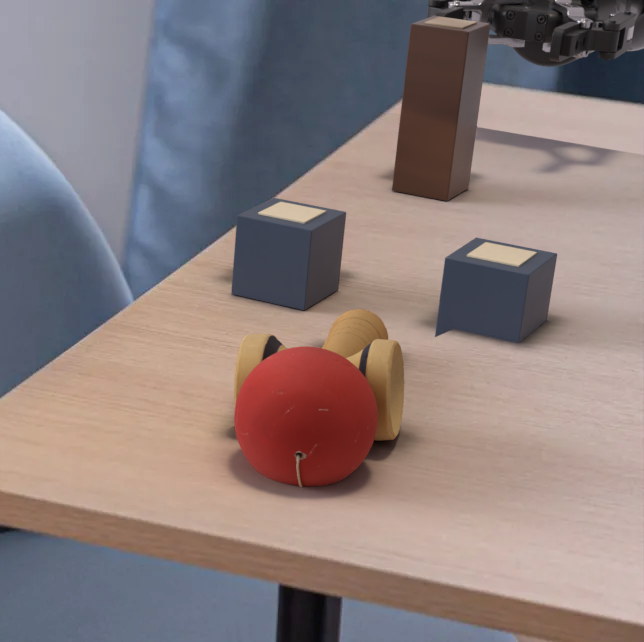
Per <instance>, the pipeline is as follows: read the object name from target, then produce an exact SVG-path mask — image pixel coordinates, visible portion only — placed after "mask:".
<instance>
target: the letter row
mask: <svg viewBox="0 0 644 642" xmlns="http://www.w3.org/2000/svg"><path fill="white" fill-rule="evenodd" d="M346 221H347V211H345V210H338V209H333V208H329V207H323V206H320V205H319V206H317V205H313V204H308V203H303V202H298V201H293V200H288V199H284V198H283V199H282V198H277V197H272V198H270V199H268V200H265V201H264V202H262V203H260V204H257V205H256V206H254V207H251V208H249V209H247V210H245V211H243V212H241V213H239V214H237V215H236V226H235V240H234V252H233V264H232V265H233V266H232V279H231V293H230V294H231V295H234V296H239V297H243V298H247V299H248V298H249V299H252V300H256V301H261V302H265V303H269V304H273V305H279V306H283V307H287V308H292V309H296V310H299V311H306V310H307V309H309V308H311V307H312V306H314V305H315V304H318V303H319V302H321V301H322V300H323V299H325V298H327V297H329V296H330V295H332V294H334V293H335V292H337V291H338V290H339V287H340V278H341V270H342V269H341V266H342V259H343V250H344V240H345V229H346ZM557 258H558V253H557V252H552V251H547V250H542V249H537V248H532V247H526V246H521V245H516V244H512V243H506V242H501V241H496V240H491V239H486V238H480V237H474V238H473V239H471V240H470V241H469V242H467V243H465V244H464V245H462V246H461V247H459V248H457V249H456V250H455V251H453V252H452V253H450V254H448V255H447V256H445V258H444V263H443V272H442V277H441V278H442V280H441V285H440V293H439V294H440V295H439V301H438V309H437V317H436V326H435V333H434V338H437V337H439V336H441V335H444V334H446V333H448V332H450V331H453V330H457V331H463V332H466V333H472V334H475V335H481V336H484V337H489V338H494V339H497V340H502V341H507V342H512V343H516V344H520V343H521V342H522V341H523V340H525V339H526V338H527V337H528V336H529V335H531V334H532V333H533V332H534V331H535V330H537V329H538V328H539V327H541V326H542V325H543V324H544V323H545V322H547V321H548V315H549V309H550V305H551V296H552V291H553V285H554V279H555V278H554V277H555V272H556V266H557Z"/></svg>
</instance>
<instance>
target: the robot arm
mask: <svg viewBox="0 0 644 642" xmlns="http://www.w3.org/2000/svg"><path fill="white" fill-rule="evenodd" d="M426 11H427V12H426V18H429V17H432V16H440V17H447V18H454V19H462V20H470V21H476V22H483V23H489V24H490V31H491V32H493V33H489V38H488V46H492V45H493V46H494V45H505V46H508V47H510V48H512V49H513V51H514V52H515V53H516V54H517V55H518V56H520V57H521V58H522V59H524V60H525V61H527V62H528V63H531V64H533V65H536V66H540V67H546V68H554V67H560V66H565V65H568V64H570V63H572V62H575V61H577V60H579V59H583V58H587V57H588V56H589V54H591V53H593V52H598V53H597V58H598V59H602V61H610V60H615V59H617V58H618V57H620V56H622V54H625V53H626V52H635V51H640V50H643V49H644V0H427V10H426Z"/></svg>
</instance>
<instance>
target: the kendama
mask: <svg viewBox="0 0 644 642" xmlns="http://www.w3.org/2000/svg"><path fill="white" fill-rule="evenodd" d="M404 366H405V365H404V357H403V351H402V346H401V344H400V343H399V341H397V340H394V339H389V333H388V329H387V327H386V325H385V323H384V321H383V320H382V319H381V318H380V316H378V315H377V314H375V313H374V312H373V311H370V310H367V309H364V308H363V309H362V308H355V309H351V310H347V311H345V312H343V313H342V314H341V315H339V316H338V317H336V319H335V320H334V322H333V323H332V325H331V327H330V329H329V332H328V335H327V337H326V340H325V342H324V343H323V345H322V347H318V346H310V345H309V346H306V345H305V346H304V345H303V346H294V347H289V348H288V347H286V346H285V345H284V344H283V343H282V342H281V341H280V340H279V339H278V338H277V336H275V335H274V334H272V333H249V334H246V335H245V336H244V337H243V339H242V340H241V342H240V345H239V347H238V351H237V355H236V360H235V368H234V383H233V384H234V385H233V399H234V414H233V415H234V416H233V422H234V431H235V435H236V440H237V442H238V445H239V447H240V450H241V451H242V453H243V455H244V457H245V459H246V460H247V461H248V463H249V464H250V465H251V466H252V468H254V469H255V470H256V472H258V473H259V474H260V475H262V476H263V477H266V478H267V479H270V480H272V481H275V482H277V483H281V484H287V485H292V486H298V487H300V488H303V487H320V486H321V487H322V486H327V485H333V484H335V483H338V482H341V481H342V480H344V479H346V478H347V477H349V476H350V475H352V473H353V472H354V471H356V470H357V469H358V468H359V467H360V466H361V464H362V463H363V462H364V461H365V459H366V458H367V456H368V454H369V452H370V451H371V448H372V447H373V444H374V442H375V441H393V440H395V439H396V437H397V436H398V435H399V433H400V429H401V424H402V419H403V412H404V402H405V401H404V400H405V399H404V398H405V367H404Z"/></svg>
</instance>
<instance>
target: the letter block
mask: <svg viewBox="0 0 644 642" xmlns="http://www.w3.org/2000/svg"><path fill="white" fill-rule="evenodd" d="M490 31H491V30H490V24H489V23H483V22H476V21H471V20H470V19H468V20H462V19H454V18H447V17H440V16H432V17H429V18H427V17H426V18H424V19H422V20H421V19H420V20H418V21H416V22H413V23H410V28H409V36H408V46H407V54H406V63H405V72H404V79H403V80H404V81H403V88H402V97H401V107H400V114H399V115H400V117H399V122H398V132H397V141H396V142H397V143H396V151H395V159H394V167H393V178H392V185H391V191H392V192H397V193H401V194H402V193H403V194H408V195H413V196H418V197H423V198H429V199H433V200H438V201H439V200H440V201H445V202H448V201H450V200H451V199H454V198H455V197H457V196H459V195H460V194H462V193H463V192H465V191H467V190H469V187H470V181H471V173H472V166H473V165H472V164H473V159H474V158H473V157H474V150H475V142H476V135H477V129H478V128H477V127H478V122H479V121H478V119H479V112H480V106H481V105H480V104H481V97H482V90H483V83H484V75H485V69H486V59H487V53H488V46H489V45H488V38H489V34H490Z"/></svg>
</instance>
